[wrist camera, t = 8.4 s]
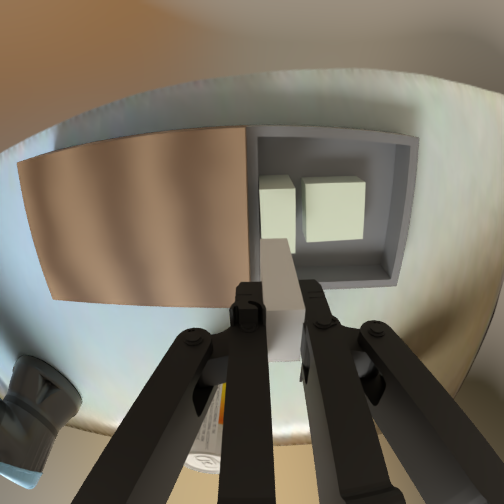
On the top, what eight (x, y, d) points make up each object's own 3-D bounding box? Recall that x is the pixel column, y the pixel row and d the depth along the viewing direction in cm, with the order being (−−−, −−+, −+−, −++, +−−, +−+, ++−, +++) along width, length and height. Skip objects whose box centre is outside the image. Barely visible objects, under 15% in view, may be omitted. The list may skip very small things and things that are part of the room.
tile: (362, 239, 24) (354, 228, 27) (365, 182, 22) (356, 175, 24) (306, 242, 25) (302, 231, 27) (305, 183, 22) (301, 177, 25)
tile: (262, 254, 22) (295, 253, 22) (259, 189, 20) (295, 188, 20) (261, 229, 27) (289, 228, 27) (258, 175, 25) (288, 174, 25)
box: (251, 271, 30) (250, 290, 26) (247, 125, 23) (246, 126, 20) (384, 268, 29) (396, 286, 26) (400, 133, 23) (419, 137, 20)
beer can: (207, 373, 37) (191, 474, 23) (189, 341, 34) (163, 451, 21) (251, 367, 36) (248, 474, 22) (237, 334, 33) (228, 451, 20)
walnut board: (78, 270, 30) (53, 299, 25) (53, 150, 24) (16, 162, 19) (251, 271, 30) (250, 307, 24) (247, 125, 23) (244, 127, 18)
